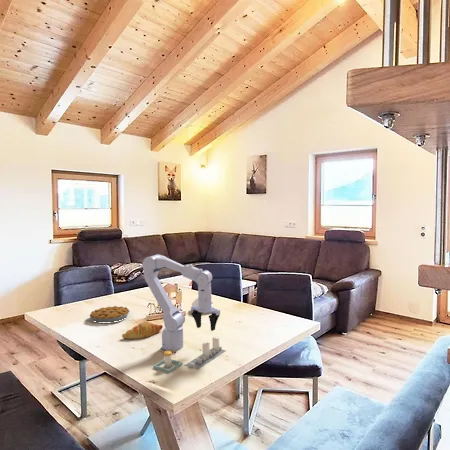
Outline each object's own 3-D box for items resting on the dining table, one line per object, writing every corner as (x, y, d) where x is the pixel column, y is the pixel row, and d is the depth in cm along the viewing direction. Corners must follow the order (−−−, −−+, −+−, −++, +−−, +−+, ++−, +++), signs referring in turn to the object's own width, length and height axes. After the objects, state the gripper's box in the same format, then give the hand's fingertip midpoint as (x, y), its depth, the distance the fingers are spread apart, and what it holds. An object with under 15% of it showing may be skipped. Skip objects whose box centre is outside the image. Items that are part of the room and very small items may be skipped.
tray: (153, 369, 144) (153, 365, 144) (167, 362, 151) (167, 357, 151) (169, 375, 140) (168, 370, 140) (182, 366, 147) (182, 362, 147)
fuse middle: (201, 358, 153) (201, 344, 152) (205, 355, 155) (205, 341, 155) (207, 359, 151) (206, 345, 151) (211, 357, 154) (210, 343, 153)
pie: (135, 313, 220) (134, 304, 220) (121, 325, 198) (120, 316, 198) (100, 312, 222) (100, 304, 222) (82, 324, 200) (82, 315, 200)
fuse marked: (162, 367, 145) (162, 352, 145) (168, 364, 148) (167, 350, 147) (167, 369, 144) (167, 354, 143) (173, 366, 146) (173, 352, 146)
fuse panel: (184, 367, 146) (183, 362, 146) (213, 349, 164) (213, 344, 164) (198, 371, 143) (197, 366, 143) (226, 352, 160) (226, 347, 160)
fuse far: (211, 351, 159) (211, 338, 159) (215, 349, 162) (214, 336, 161) (217, 353, 158) (216, 339, 157) (220, 350, 160) (220, 337, 160)
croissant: (124, 348, 175) (126, 336, 171) (118, 333, 182) (119, 322, 178) (164, 337, 187) (167, 326, 183) (157, 324, 194) (159, 313, 190)
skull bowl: (209, 313, 212) (200, 294, 216) (195, 321, 220) (186, 303, 224) (220, 308, 220) (212, 290, 224) (206, 317, 228) (198, 299, 232)
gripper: (186, 298, 160) (187, 328, 161) (213, 302, 153) (214, 334, 153) (195, 295, 166) (196, 324, 167) (222, 298, 159) (223, 329, 159)
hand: (205, 328), depth 161 cm, fingers open, 7 cm apart
